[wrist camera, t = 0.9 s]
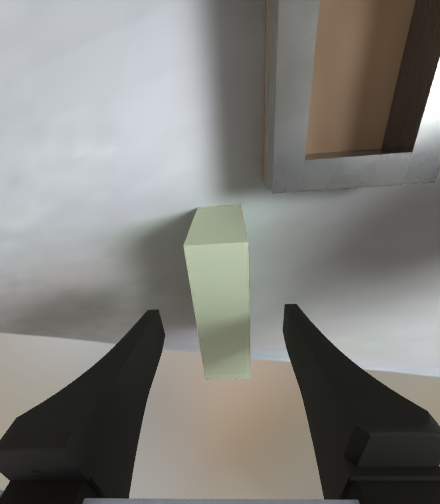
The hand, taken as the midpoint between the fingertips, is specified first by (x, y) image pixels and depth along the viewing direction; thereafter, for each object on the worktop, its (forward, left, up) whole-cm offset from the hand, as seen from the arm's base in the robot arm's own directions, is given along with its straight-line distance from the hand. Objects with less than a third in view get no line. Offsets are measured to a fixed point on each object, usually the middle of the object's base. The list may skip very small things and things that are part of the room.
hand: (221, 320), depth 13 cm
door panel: (0, 0, -6) cm, 6 cm away
